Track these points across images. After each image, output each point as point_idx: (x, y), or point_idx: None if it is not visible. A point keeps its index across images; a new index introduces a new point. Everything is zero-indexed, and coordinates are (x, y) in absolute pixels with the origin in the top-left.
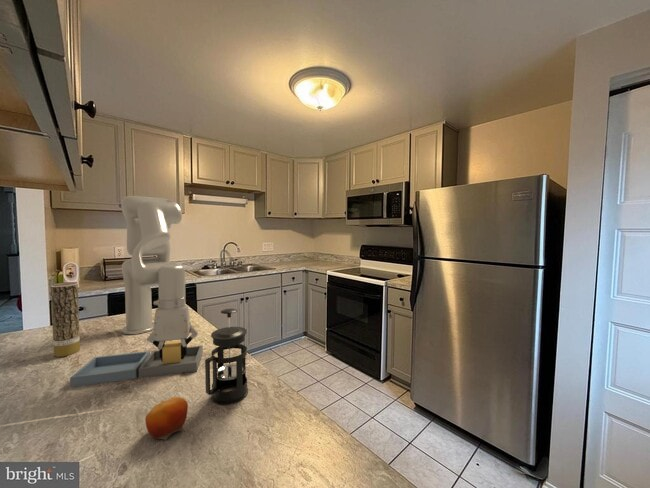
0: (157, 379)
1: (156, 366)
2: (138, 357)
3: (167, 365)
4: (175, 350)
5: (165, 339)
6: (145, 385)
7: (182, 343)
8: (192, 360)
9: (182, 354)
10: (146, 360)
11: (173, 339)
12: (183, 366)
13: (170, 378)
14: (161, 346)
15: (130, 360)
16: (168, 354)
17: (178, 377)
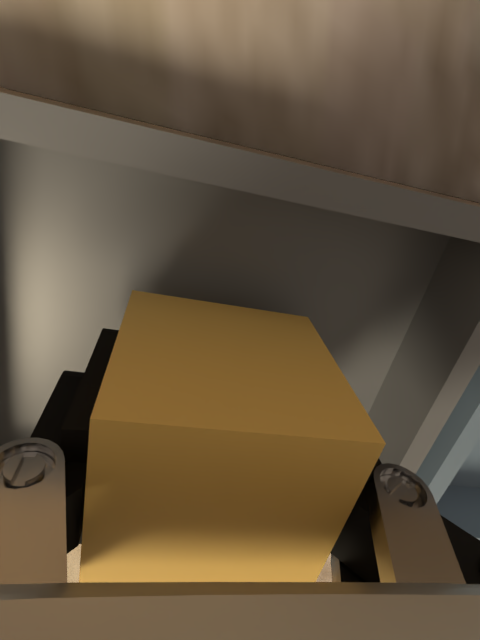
0: (348, 109)
1: (395, 210)
2: (445, 505)
3: (276, 170)
4: (180, 385)
5: (433, 622)
6: (462, 21)
7: (48, 499)
8: (35, 355)
9: (97, 358)
10: (448, 400)
11: (223, 596)
12: (69, 107)
13: (227, 54)
14: (392, 499)
15: (478, 494)
16: (273, 363)
17: (141, 26)
